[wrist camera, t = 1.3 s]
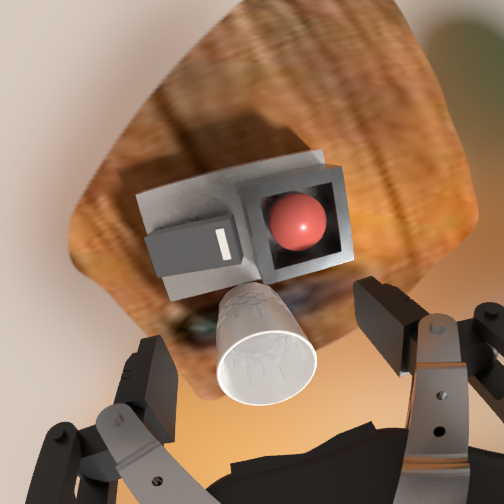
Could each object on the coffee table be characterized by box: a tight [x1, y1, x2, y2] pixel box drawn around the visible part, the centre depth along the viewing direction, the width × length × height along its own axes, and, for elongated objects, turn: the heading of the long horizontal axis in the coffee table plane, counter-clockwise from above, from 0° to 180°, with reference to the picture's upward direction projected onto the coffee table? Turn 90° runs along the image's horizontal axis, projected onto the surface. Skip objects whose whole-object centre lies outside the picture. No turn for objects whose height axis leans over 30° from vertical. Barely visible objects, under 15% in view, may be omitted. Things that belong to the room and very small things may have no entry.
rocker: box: [144, 214, 244, 278], centre depth 23 cm, size 4×7×2 cm, turn 103°
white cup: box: [216, 282, 317, 406], centre depth 27 cm, size 8×8×10 cm
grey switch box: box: [136, 149, 354, 302], centre depth 25 cm, size 10×16×7 cm, turn 103°
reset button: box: [268, 192, 326, 251], centre depth 24 cm, size 4×4×1 cm
